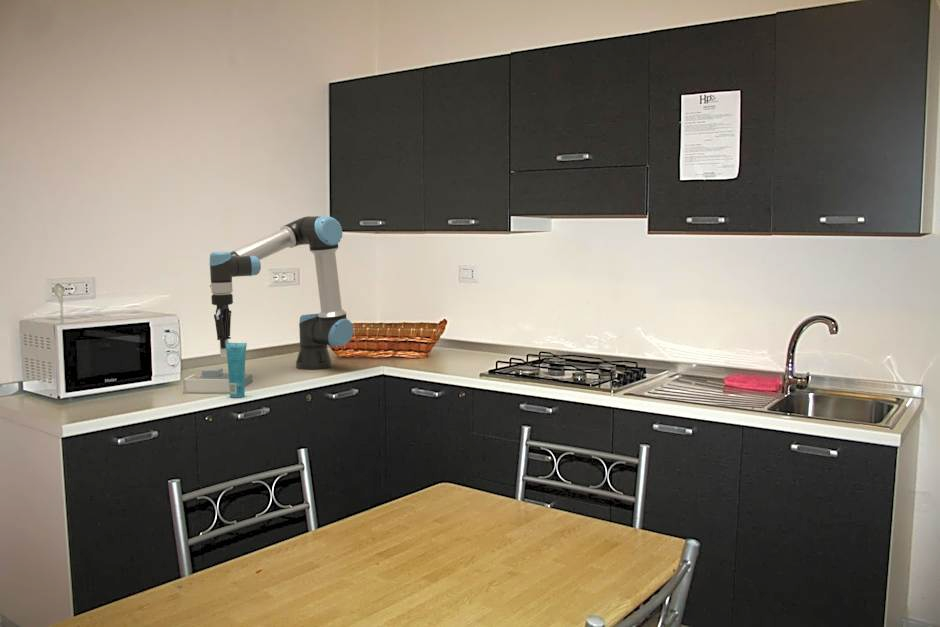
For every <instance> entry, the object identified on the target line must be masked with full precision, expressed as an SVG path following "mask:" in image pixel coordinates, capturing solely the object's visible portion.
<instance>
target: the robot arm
mask: <svg viewBox="0 0 940 627" xmlns="http://www.w3.org/2000/svg"><path fill="white" fill-rule="evenodd" d="M342 228H343V227H342V225H341V224H340V222H339V221H338V220H337V219H336V218H334V217H332V216H327V215H319V216H317V215H316V216H303V217H300V218H298V219H295V220H293V221H291V222H289V223H287V224H285V225H282V226H281V227H280V229H279V230H277V231H274V232H273V233H271V234H269V235H267V236H264V237H262V238H259V239H257V240H255V241H253V242H251V243H248V244H245V245H243V246H241V247H239V248H237V249H234V250H233V251H231V252H230V251H213V252H211V253H210V254H209V271H210V272H209V273H210V276H209V277H210V285H209V288H211V289H210V291H211V296H210V297H211V305H212V306H216V309H215V313H214V314H213V317H214V322H215V323H214V324H215V329H216V337H217V338H216V340H217V341H219V351H220V352H219V353H220V358H227V352H226V345H225V343H229V340H231V339H232V338H231V321H232V320H231V319H232V318H231V317H232V310H230V309H229V305H233V304H234V301H233V299H234V296H233V294H232V293H233V278H235V277H237V278H238V277H252V276H257V275H259V274H260V272H261V269H262V266H261V265H262V264H261V260H263V259H265V258H267V257H270V256H271V255H273V254H276V253H278V252H280V251H283V250H285V249H287V248H289V249H293V248H295V247H298V246H302V245H304V246H305V245H309V252H311V253H312V254H313V256H314V262H315V273H316V279H317V280H316V282H317V288H318V296H319V297H318V298H319V304H320V306H319V307H320V312H319V313H311V314H310V313H309V314H301V315H300V317H299V322H298V323H299V324H298V325H299V329H298V330H299V350H298V351H299V352H298V354H297V357H296V361H295V368H296V369H302V370H323V369H329V368H332V366H333V365H332V363H333V362H332V359H331V355H330V353H329V350H328V346H332V347H343V346H345V345H347V344H348V343H349V342H350V340H351V339H352V337H353V335H354V325H353V323H352V322H351V320H349V319H348V318H347V312H346V311H345V310H344V309H343V307H342V299H341V298H342V297H341V292H340V291H341V290H340V281H339V273H338V264H337V256H336V251H337V250H338V249H339V243H340V242H341V239H342V238H343V229H342Z"/></svg>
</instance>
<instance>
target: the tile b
mask: <svg viewBox="0 0 940 627" xmlns="http://www.w3.org/2000/svg"><path fill="white" fill-rule="evenodd" d="M223 371H224V368H223V367H206V368H203V369H201V376H202V377H219V376H221V375H223V374H224V372H223Z"/></svg>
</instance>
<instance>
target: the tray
mask: <svg viewBox="0 0 940 627" xmlns="http://www.w3.org/2000/svg"><path fill="white" fill-rule="evenodd" d="M196 378H197V373H196V374H195V373H194V374H192V375H189V376H187V377H185V378H182V386H183V388H182V389H183V394H217V393H221V394H223V395H224V394H226V395H228V394H229V395H230V387H229V379H196ZM221 394H220V395H221Z"/></svg>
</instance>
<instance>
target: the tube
mask: <svg viewBox="0 0 940 627" xmlns="http://www.w3.org/2000/svg"><path fill="white" fill-rule="evenodd" d="M225 345H226V352H227V357H226V359H227V370H228V371H227V374H229V387H230V394H229V396H230V398H243V397H245V393H246V392H245V390H246V389H245V387H246V386H245V374H246V372H245V371H246V355H247V354H246V353H247V352H246V351H247V345H248V343H247V342H228V343H225Z"/></svg>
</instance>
